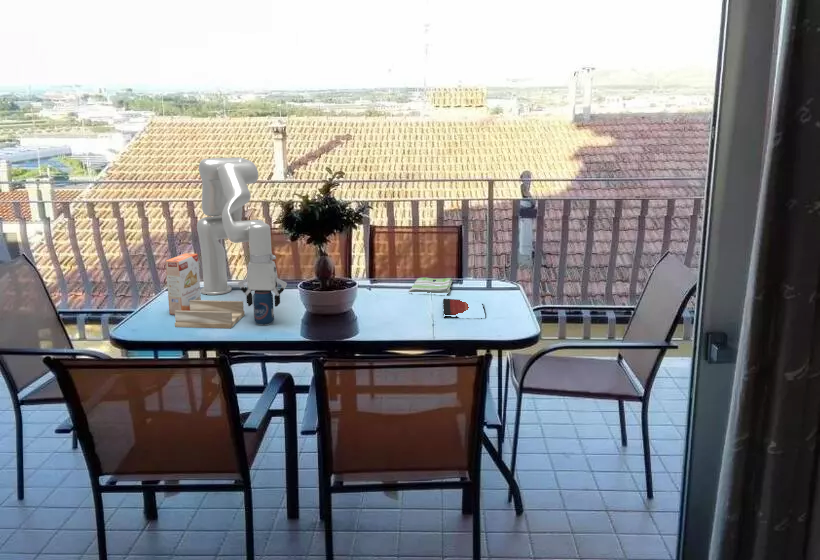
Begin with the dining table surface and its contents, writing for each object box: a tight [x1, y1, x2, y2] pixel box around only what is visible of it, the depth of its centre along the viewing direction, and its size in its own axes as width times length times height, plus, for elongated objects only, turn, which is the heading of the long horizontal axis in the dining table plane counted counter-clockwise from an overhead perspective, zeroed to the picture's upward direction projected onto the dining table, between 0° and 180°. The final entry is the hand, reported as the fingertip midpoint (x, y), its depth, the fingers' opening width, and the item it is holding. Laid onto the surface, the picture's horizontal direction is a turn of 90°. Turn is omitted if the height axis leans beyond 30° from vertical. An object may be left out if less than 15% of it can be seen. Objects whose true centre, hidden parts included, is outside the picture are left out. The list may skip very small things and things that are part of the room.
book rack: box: [174, 299, 246, 329], centre depth 235 cm, size 16×20×6 cm
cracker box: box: [165, 252, 202, 316], centre depth 246 cm, size 14×6×21 cm, turn 168°
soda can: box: [252, 290, 275, 326], centre depth 232 cm, size 7×7×12 cm
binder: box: [442, 298, 469, 315], centre depth 250 cm, size 16×2×21 cm
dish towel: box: [408, 277, 454, 294], centre depth 281 cm, size 17×23×4 cm
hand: (263, 305), depth 232 cm, fingers open, 9 cm apart
